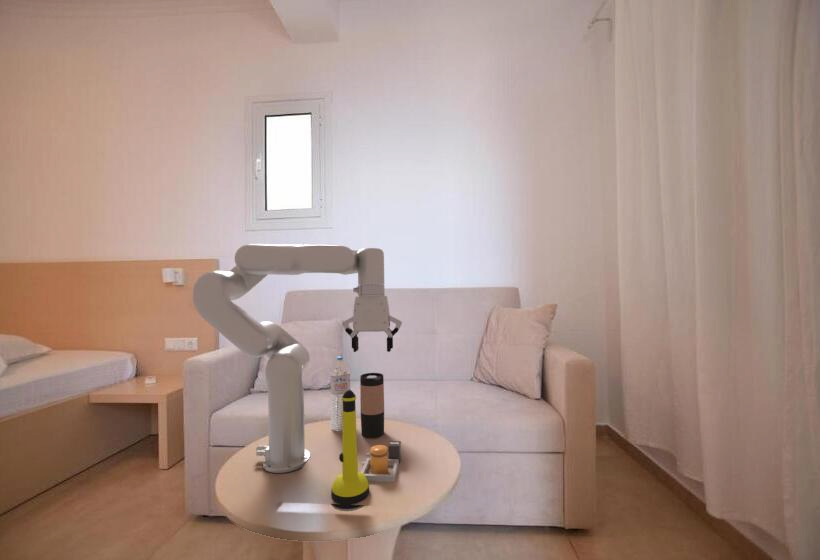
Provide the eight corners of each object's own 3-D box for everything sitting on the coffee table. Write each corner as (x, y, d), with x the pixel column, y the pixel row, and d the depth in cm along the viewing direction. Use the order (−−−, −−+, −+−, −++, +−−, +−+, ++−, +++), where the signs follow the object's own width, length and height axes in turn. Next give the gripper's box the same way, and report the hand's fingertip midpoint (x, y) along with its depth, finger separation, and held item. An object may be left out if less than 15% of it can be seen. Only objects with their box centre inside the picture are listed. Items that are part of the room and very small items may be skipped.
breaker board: (338, 485, 87) (338, 474, 87) (353, 457, 101) (353, 448, 101) (395, 487, 86) (394, 476, 86) (401, 459, 100) (401, 449, 100)
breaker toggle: (388, 462, 95) (388, 445, 95) (390, 457, 98) (390, 440, 98) (399, 463, 95) (399, 445, 95) (401, 457, 98) (400, 440, 98)
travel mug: (364, 432, 118) (363, 372, 119) (386, 433, 117) (385, 372, 118) (358, 442, 111) (357, 378, 111) (381, 443, 110) (380, 378, 110)
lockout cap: (372, 467, 93) (371, 444, 93) (389, 467, 92) (388, 444, 93) (368, 476, 88) (368, 452, 88) (386, 477, 88) (386, 453, 88)
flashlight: (369, 384, 86) (333, 384, 86) (366, 395, 77) (325, 396, 77) (371, 487, 86) (334, 488, 86) (368, 510, 77) (326, 511, 77)
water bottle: (327, 434, 117) (326, 358, 118) (335, 426, 124) (334, 354, 125) (347, 435, 116) (346, 359, 117) (353, 427, 123) (352, 355, 123)
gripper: (338, 292, 99) (339, 353, 98) (399, 291, 97) (400, 353, 97) (345, 291, 106) (346, 348, 106) (402, 290, 105) (403, 348, 104)
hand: (372, 351), depth 101 cm, fingers open, 9 cm apart
